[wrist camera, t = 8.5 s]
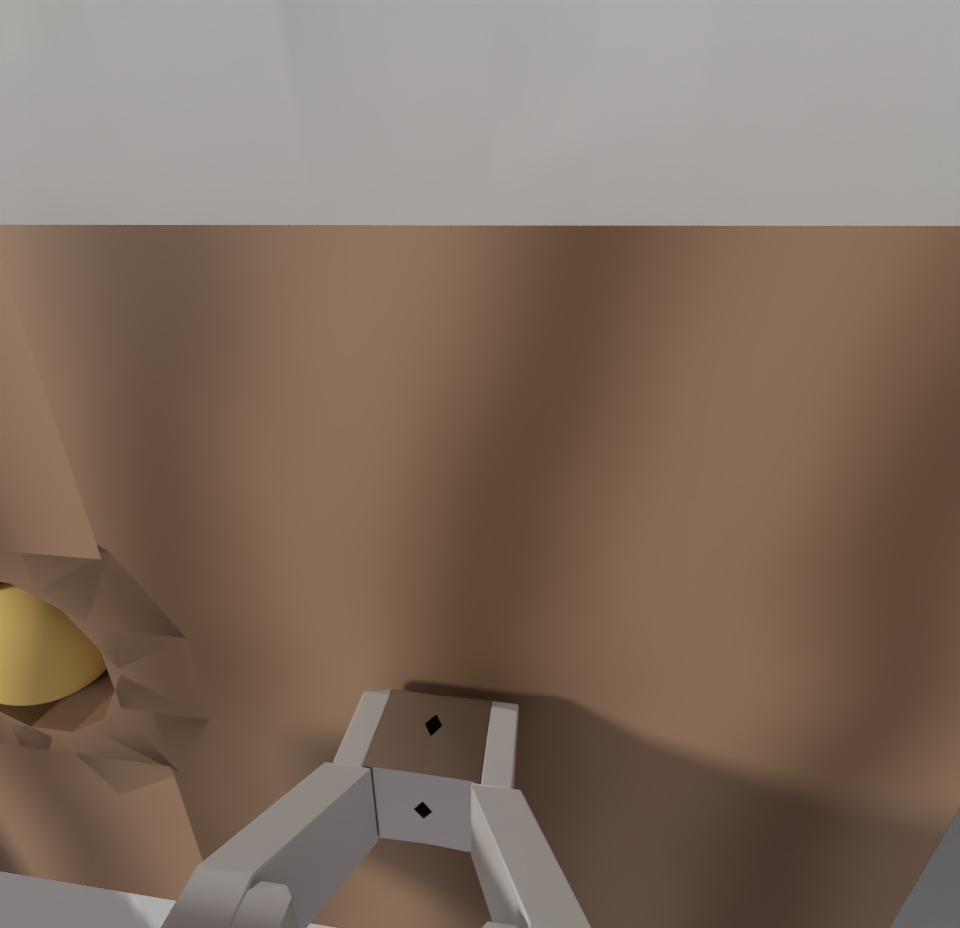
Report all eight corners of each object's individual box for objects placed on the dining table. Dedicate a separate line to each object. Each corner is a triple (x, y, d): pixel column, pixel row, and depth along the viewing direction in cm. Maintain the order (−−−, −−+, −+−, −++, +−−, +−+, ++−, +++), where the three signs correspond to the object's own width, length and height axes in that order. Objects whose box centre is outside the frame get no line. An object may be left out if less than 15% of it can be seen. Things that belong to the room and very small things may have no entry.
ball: (-115, 641, 9) (-21, 556, 12) (-49, 755, 11) (22, 654, 13) (80, 607, 10) (126, 535, 13) (120, 714, 12) (154, 628, 14)
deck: (1077, 239, 8) (2070, 183, 3) (793, 894, 15) (926, 1228, 9) (-323, 233, 11) (-1083, 201, 6) (-20, 777, 18) (-247, 982, 13)
